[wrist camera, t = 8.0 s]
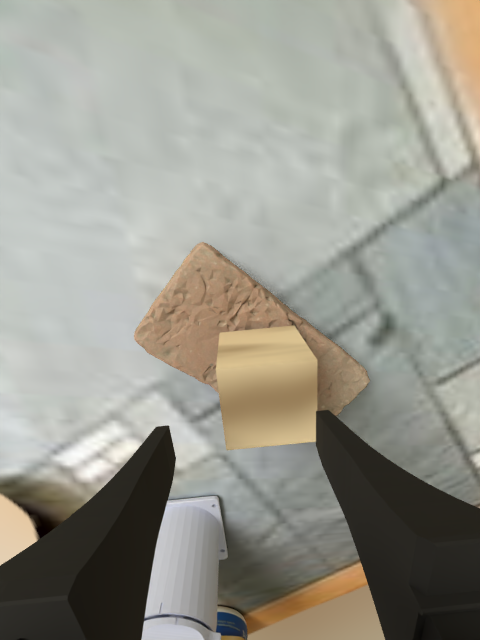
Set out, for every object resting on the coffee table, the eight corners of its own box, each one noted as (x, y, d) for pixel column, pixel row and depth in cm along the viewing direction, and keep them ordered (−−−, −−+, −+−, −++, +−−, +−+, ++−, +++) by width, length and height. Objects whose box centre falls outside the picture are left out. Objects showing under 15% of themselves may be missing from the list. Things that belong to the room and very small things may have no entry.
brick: (355, 355, 24) (383, 384, 19) (293, 418, 26) (306, 457, 21) (204, 236, 20) (196, 237, 16) (145, 319, 22) (123, 341, 18)
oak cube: (296, 389, 19) (317, 441, 15) (227, 396, 19) (226, 450, 15) (294, 325, 18) (317, 359, 13) (219, 332, 18) (215, 369, 13)
